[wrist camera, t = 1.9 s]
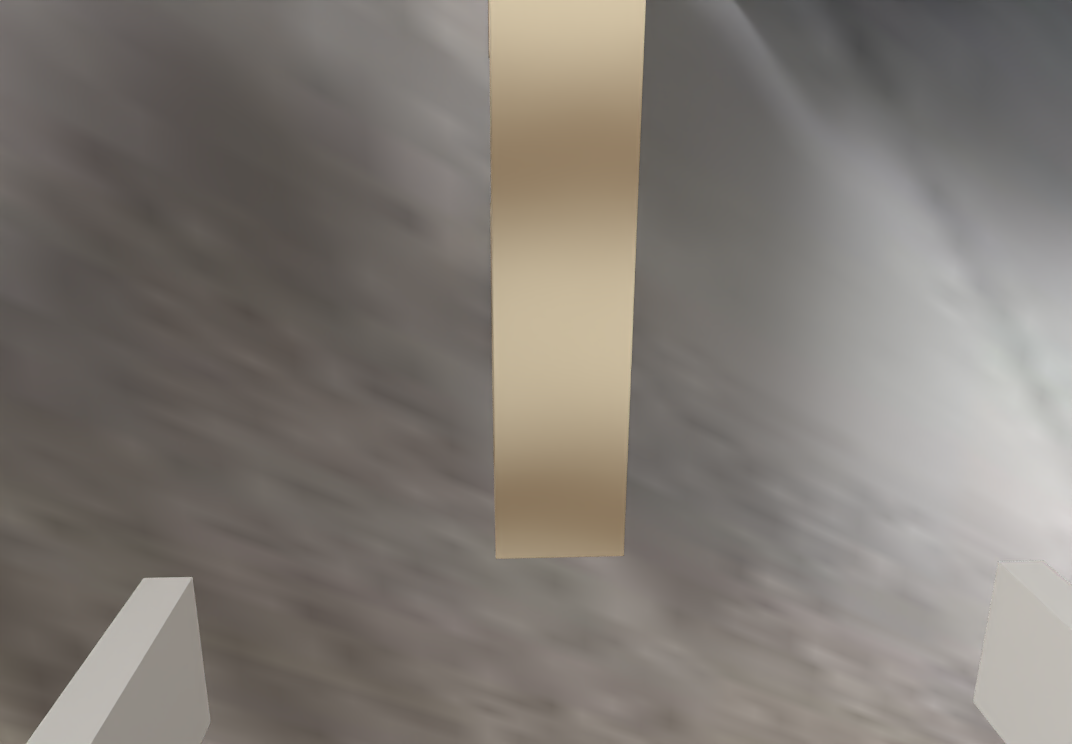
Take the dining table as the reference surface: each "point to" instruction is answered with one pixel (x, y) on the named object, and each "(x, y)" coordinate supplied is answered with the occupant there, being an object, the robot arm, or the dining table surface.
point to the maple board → (563, 269)
